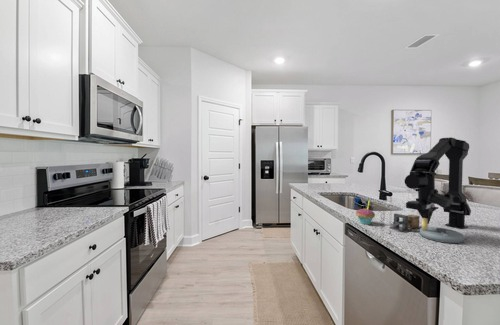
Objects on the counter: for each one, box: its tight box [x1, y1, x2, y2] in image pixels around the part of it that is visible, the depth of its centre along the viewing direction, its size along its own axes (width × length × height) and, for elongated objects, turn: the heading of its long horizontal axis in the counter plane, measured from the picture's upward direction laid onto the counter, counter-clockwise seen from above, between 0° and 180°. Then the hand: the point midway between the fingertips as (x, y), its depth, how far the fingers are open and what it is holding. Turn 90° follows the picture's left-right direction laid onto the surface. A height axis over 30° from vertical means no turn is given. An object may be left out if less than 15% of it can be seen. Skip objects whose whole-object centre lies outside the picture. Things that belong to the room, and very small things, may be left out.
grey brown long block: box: [390, 214, 420, 229], centre depth 112 cm, size 16×4×5 cm, turn 115°
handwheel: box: [419, 217, 465, 244], centre depth 100 cm, size 14×14×7 cm
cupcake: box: [355, 199, 376, 226], centre depth 121 cm, size 9×8×12 cm
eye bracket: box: [389, 213, 413, 233], centre depth 111 cm, size 5×7×7 cm
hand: (426, 223), depth 103 cm, fingers closed
